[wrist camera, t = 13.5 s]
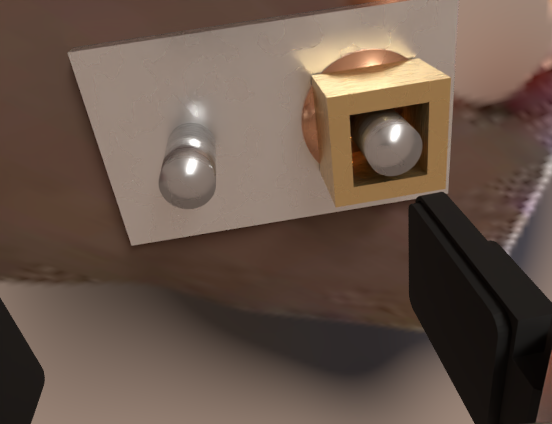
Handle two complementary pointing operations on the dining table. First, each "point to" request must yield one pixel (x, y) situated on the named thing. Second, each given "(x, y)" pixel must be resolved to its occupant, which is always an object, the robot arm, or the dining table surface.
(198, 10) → the dining table surface
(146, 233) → the peg board
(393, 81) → the gold square frame
